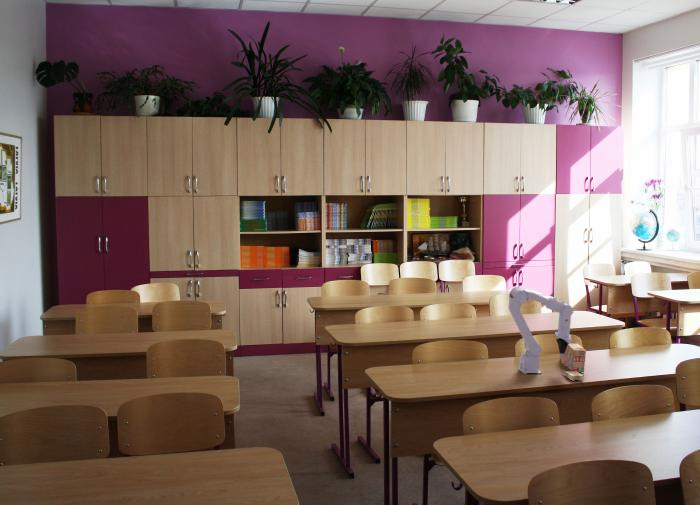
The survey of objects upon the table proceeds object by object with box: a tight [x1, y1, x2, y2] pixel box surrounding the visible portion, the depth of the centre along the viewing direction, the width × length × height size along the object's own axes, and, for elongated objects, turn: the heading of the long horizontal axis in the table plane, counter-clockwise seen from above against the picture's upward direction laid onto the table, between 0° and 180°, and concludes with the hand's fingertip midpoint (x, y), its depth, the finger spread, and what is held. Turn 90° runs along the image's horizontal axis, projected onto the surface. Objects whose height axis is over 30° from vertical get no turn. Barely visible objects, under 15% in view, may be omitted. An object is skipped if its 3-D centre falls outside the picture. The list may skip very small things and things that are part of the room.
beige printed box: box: [559, 343, 587, 373], centre depth 367 cm, size 21×6×12 cm, turn 1°
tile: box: [564, 370, 584, 382], centre depth 347 cm, size 6×2×7 cm
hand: (562, 353), depth 357 cm, fingers closed
